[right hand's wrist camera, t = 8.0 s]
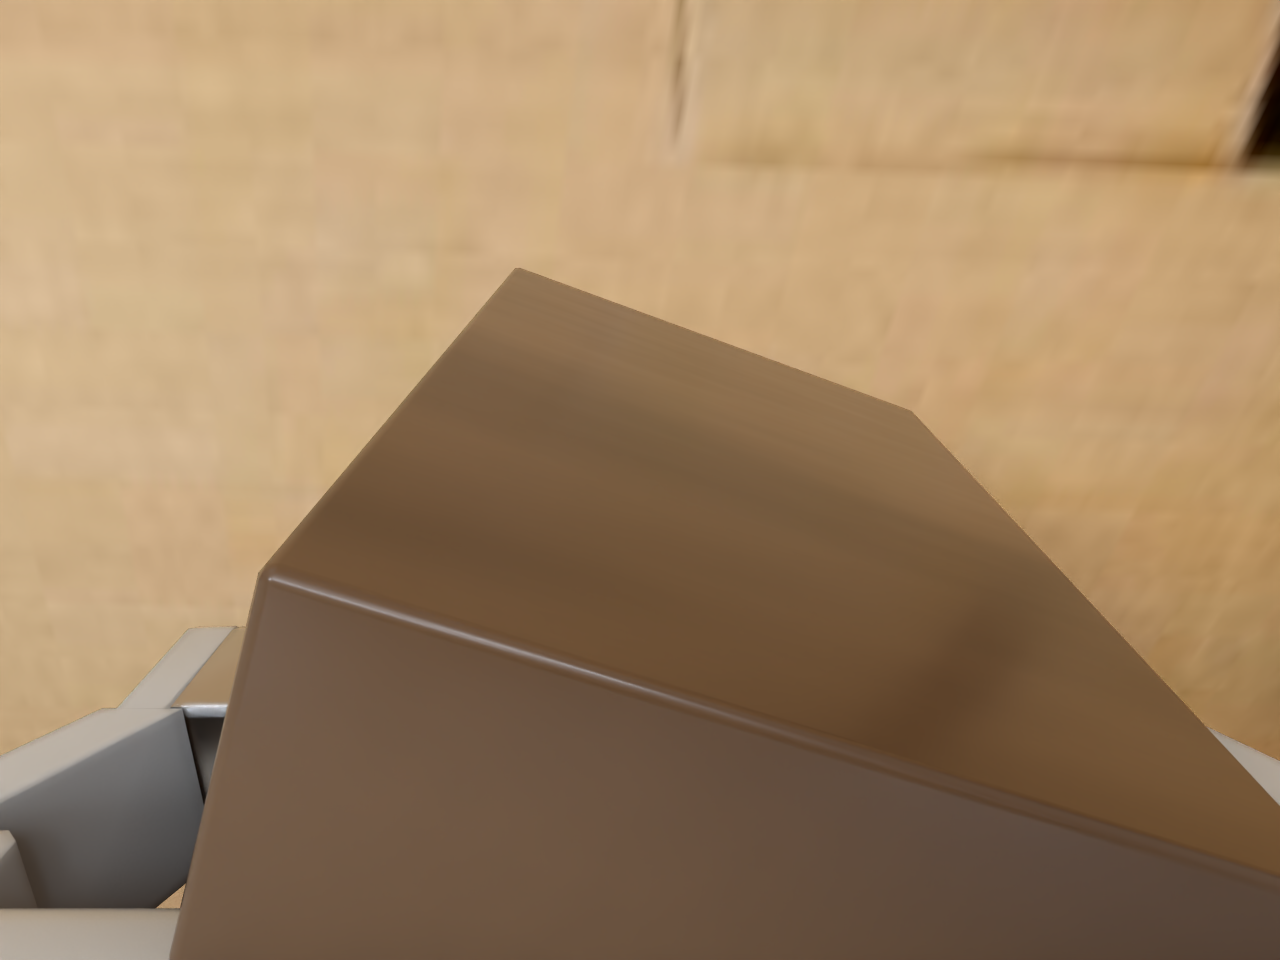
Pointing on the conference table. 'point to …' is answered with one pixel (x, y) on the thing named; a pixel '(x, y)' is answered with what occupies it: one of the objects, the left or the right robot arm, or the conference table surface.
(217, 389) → the conference table surface
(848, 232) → the conference table surface
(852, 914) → the box
